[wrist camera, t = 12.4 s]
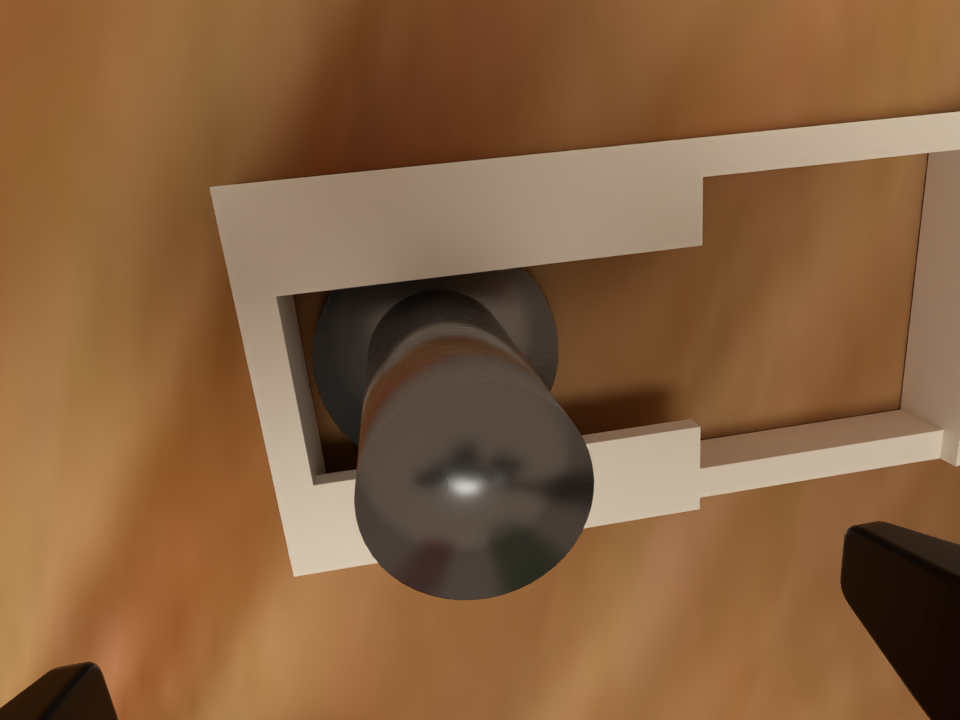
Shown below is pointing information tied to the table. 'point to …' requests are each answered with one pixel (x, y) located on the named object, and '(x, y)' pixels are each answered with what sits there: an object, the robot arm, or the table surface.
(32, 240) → the table surface
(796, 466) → the keyhole dock
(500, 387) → the dark grey rounded piece
